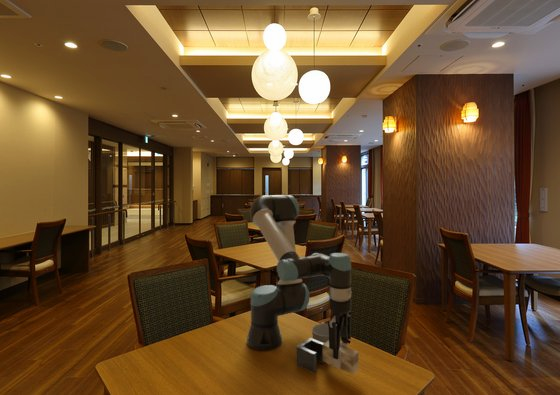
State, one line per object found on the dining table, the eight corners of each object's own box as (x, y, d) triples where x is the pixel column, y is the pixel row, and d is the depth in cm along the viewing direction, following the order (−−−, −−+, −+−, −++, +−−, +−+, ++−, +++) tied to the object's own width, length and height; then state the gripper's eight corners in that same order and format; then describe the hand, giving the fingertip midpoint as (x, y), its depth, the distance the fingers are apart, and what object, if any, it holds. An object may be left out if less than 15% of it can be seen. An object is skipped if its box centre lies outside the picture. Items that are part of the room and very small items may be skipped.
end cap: (327, 362, 113) (327, 344, 113) (314, 373, 107) (314, 354, 106) (310, 354, 119) (310, 337, 118) (296, 364, 112) (296, 346, 112)
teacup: (338, 355, 118) (338, 336, 118) (310, 353, 120) (310, 333, 120) (337, 338, 132) (337, 320, 131) (313, 336, 134) (313, 318, 133)
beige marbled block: (358, 368, 102) (358, 351, 102) (352, 374, 99) (353, 356, 99) (328, 356, 110) (328, 340, 110) (322, 360, 107) (322, 344, 107)
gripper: (337, 307, 95) (337, 379, 96) (360, 293, 108) (361, 357, 109) (317, 302, 100) (318, 370, 100) (342, 289, 113) (342, 350, 113)
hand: (340, 363), depth 104 cm, fingers closed on beige marbled block, 4 cm apart
